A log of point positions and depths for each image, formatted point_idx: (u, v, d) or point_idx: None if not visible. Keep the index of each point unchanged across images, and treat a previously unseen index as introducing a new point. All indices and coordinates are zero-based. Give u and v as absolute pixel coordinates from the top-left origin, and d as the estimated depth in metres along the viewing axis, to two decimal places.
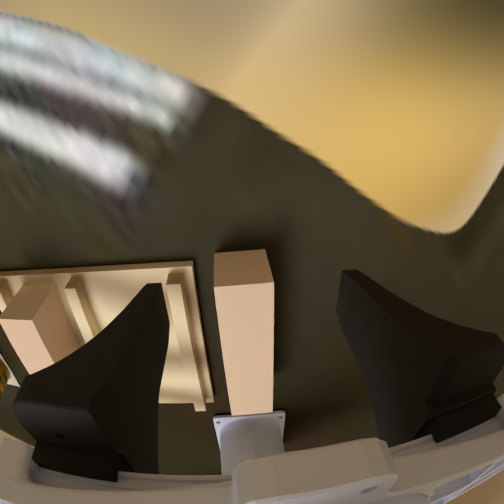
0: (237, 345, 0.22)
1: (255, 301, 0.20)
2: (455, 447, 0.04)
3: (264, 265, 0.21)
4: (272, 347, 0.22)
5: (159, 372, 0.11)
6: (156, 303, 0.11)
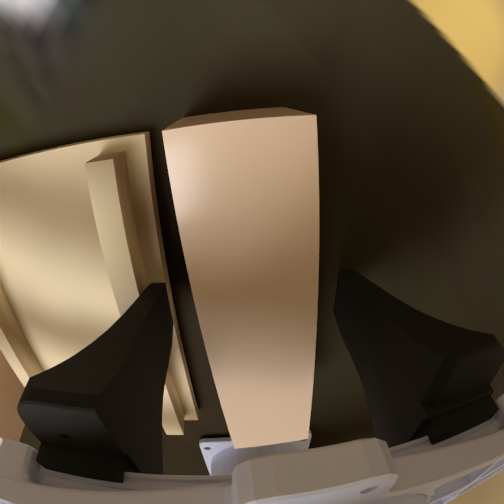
0: (232, 304, 0.09)
1: (270, 169, 0.08)
2: (455, 447, 0.04)
3: (285, 110, 0.09)
4: (315, 306, 0.10)
5: (163, 372, 0.11)
6: (160, 303, 0.11)
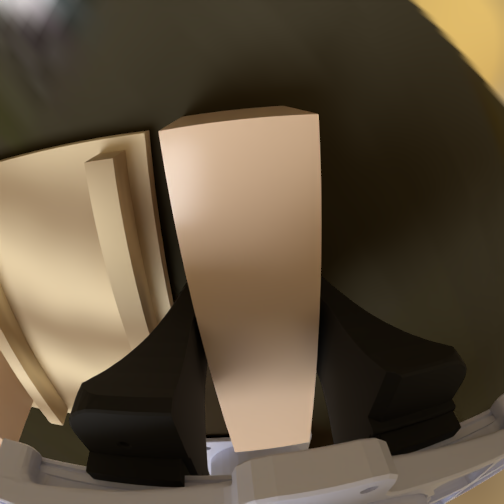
0: (232, 309, 0.09)
1: (272, 170, 0.07)
2: (455, 447, 0.04)
3: (286, 109, 0.09)
4: (316, 310, 0.09)
5: (204, 371, 0.11)
6: None
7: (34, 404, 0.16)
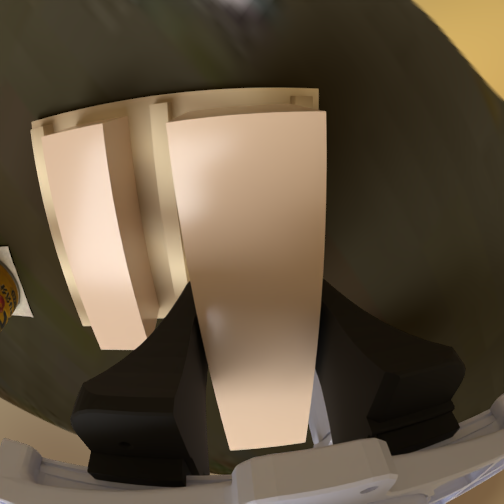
0: (233, 304, 0.09)
1: (277, 166, 0.07)
2: (455, 447, 0.04)
3: (293, 107, 0.09)
4: (317, 308, 0.09)
5: (205, 371, 0.11)
6: None
7: None
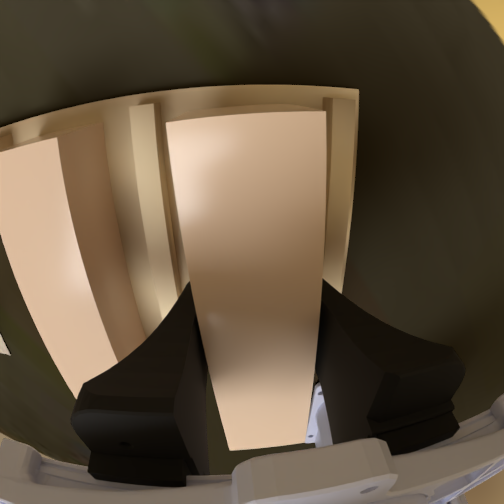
0: (233, 304, 0.09)
1: (277, 166, 0.07)
2: (455, 447, 0.04)
3: (293, 107, 0.08)
4: (317, 308, 0.09)
5: (205, 371, 0.11)
6: None
7: None
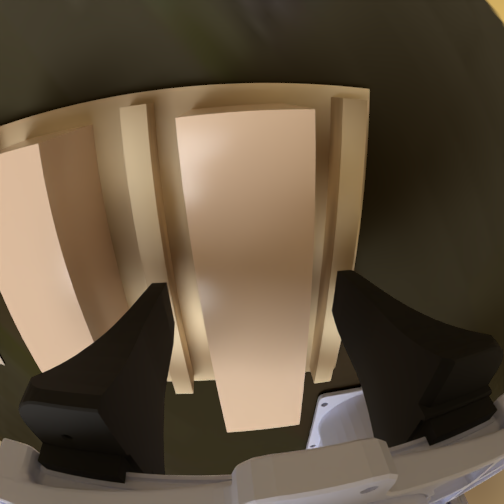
0: (232, 282, 0.10)
1: (272, 157, 0.08)
2: (456, 447, 0.04)
3: None
4: (309, 287, 0.10)
5: (164, 372, 0.11)
6: (162, 303, 0.11)
7: None
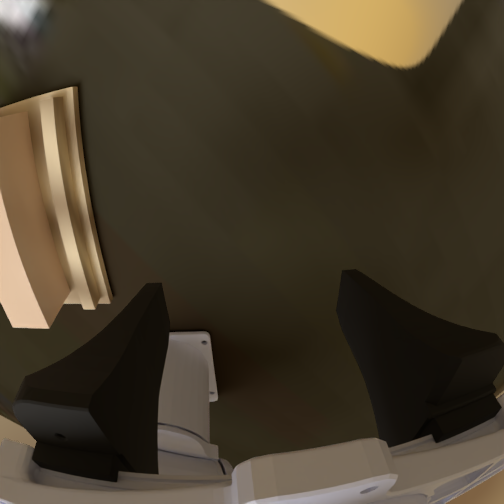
0: None
1: None
2: (455, 447, 0.04)
3: (3, 116, 0.13)
4: (4, 212, 0.14)
5: (159, 372, 0.11)
6: (156, 303, 0.11)
7: None
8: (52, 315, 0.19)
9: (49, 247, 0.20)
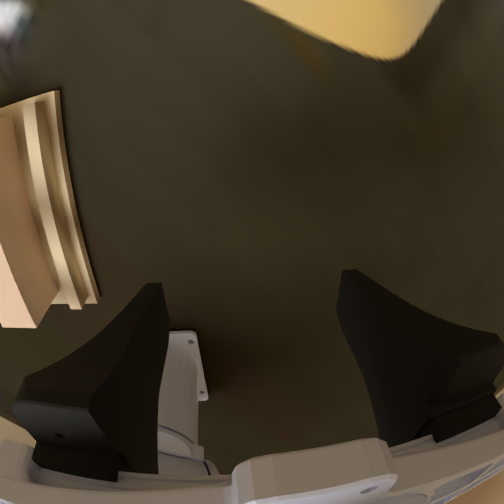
0: None
1: None
2: (455, 447, 0.04)
3: None
4: None
5: (159, 372, 0.11)
6: (156, 303, 0.11)
7: None
8: (39, 315, 0.19)
9: (36, 248, 0.19)
